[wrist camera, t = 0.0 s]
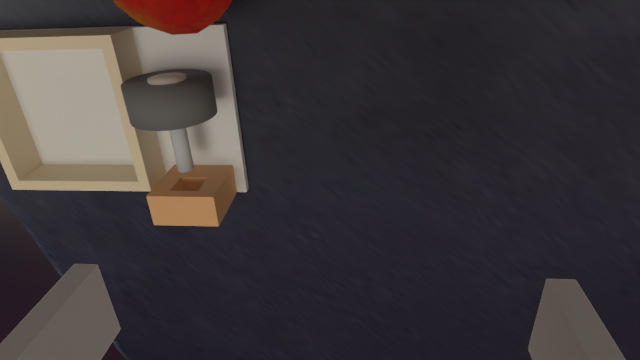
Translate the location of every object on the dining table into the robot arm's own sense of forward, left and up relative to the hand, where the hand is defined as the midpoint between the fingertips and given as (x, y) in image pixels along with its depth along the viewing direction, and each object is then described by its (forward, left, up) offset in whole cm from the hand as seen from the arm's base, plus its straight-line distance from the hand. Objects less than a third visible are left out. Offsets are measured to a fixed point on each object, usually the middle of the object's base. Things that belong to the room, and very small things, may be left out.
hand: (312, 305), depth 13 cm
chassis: (+4, -21, -28) cm, 35 cm away
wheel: (+3, -14, -27) cm, 31 cm away
